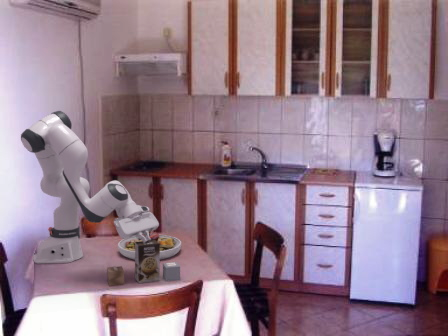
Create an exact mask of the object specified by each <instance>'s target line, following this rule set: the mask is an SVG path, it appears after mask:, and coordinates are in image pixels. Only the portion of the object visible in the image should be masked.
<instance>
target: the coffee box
mask: <svg viewBox="0 0 448 336" xmlns="http://www.w3.org/2000/svg"><path fill="white" fill-rule="evenodd" d="M160 263H161V260H160V244H159V243H158V242H157V241H156V240H150V241H149V242H146V243H143V241H140V242H135V260H134V279H135V281H137V283H138V284H144V283H152V282H158V281H159V282H160V278H161V276H160V273H161V272H160V270H161V269H160V267H161V266H160Z"/></svg>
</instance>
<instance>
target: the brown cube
mask: <svg viewBox="0 0 448 336" xmlns="http://www.w3.org/2000/svg"><path fill="white" fill-rule="evenodd" d="M106 271H107V273H106V274H107V276H106V277H107V283H108V286H109V287H115V286H125V269H124V268H123V266H122V265H119V266H111V267H110V266H109V267H107V270H106Z"/></svg>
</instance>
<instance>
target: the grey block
mask: <svg viewBox="0 0 448 336" xmlns="http://www.w3.org/2000/svg"><path fill="white" fill-rule="evenodd" d="M162 278H163V279H164V281H165V282H173V281H181V265H180V264H179V263H178V262H177V261H174V262H173V261H172V262H163V263H162Z"/></svg>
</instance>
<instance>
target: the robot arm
mask: <svg viewBox="0 0 448 336" xmlns="http://www.w3.org/2000/svg"><path fill="white" fill-rule="evenodd" d="M72 128H73V127H72V121H71V119H70V117H69V115H67V113H65V112H64V111H61V110H56V111H54V112H51V113H50V114H48V115H46V116H44V117H42V118H40V119H39V120H38V121H36V122H35V123H33V124H32V125H31V126H29V127H28V128H26V129H25V130H24V131H23V132H22V133H21V134H20V141H21V143H22V146H23V147H24V148H25V149H26V150H27V151H29V152H30V153H32V154H34V155H35V157H36V159H37V161H38V163H39V165H40V167H41V170H42V175H43V176H42V178H41V180H40V184H39V185H40V186H39V187H40V189H41V192H43V194H46V195H47V196H50V197H53V198H60V204H59V206H57V207H56V208H55V209H54V210H53V227H52V226H50V227H48V232H49V236H47V238H45V240H43V241H42V242H41V243H40V244H39V245H38V247H37V253H34V255H33V256H32V262H34V263H35V264H63V263H64V264H65V263H67V264H68V263H72V262H74V261H76V260H79V259H81V258H83V257H84V253H83V250H82V245H81V241H80V240H81V239H80V238H81V228H80V225H79V224H80V223H79V220H80V219H79V213H80V209H81V212H82V214H83V216H84V217H85V219H86V220H87V221H88V222H89V223H95V224H98V223H102V222H103V221H104V220H105V219H106V218H107V216H109V215H110V214H111V213H112V212H113V211H115V212H116V215H117V216H118V217H116V218H114V220H113V225H114V226H115V230H116V231H117V234H118V236H119V237H120V238H121V240H123V239H126V238H129V237H133V236H137V237H138V238H139V239H141V240H142V241H143V243H146V242H149V241H150V240H151V239H150V237H149V233H150V232H153V231H156V230H157V229H158V228H159V226H160V223H159V220H158V219H157V218H156V216H155V215H154V213H153V212H151V211H150V209H151V208H150V207H148V206H145V205H139V204H137V203H136V202H135V201H134V200H133V199H132V195H130V193H129V191H128V190H127V188H126V187H125V186H124V185H123V184H122V183H121V182H120V181H119V180H110V181H108V182H107V183H106V184H105V185H104V186H103V187H102V188H101V189H100V190H99V191H98V192H96V194H95V195H93V196H92V197H91V198H90V197H89V193H90V189H91V188H90V187H91V186H90V182H89V181H88V179H86V178H84V177H82V176H81V175H82V174H81V173H82V172H83V170H84V167H86V164H87V161H88V158H89V152H88V148H87V146H86V145H85V144H84V142H83V141H82V140H81V139H80V138H79V136H78V135H77V134H76V133H75V132H74V131H73V130H72ZM142 234H143V235H145V237H144V236H143V235H142Z"/></svg>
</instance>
